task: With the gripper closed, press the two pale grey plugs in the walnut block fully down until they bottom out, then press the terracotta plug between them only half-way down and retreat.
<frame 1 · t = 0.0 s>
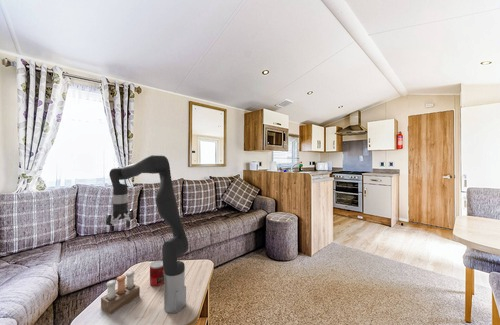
hand: (120, 229, 119), 29 cm above the table, fingers open, 8 cm apart
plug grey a: (111, 291, 96), point 8 cm above the table, slide at 0.0 cm
walnut block: (121, 302, 101), on the table
plug terracotta: (121, 286, 100), point 8 cm above the table, slide at 0.0 cm
canned food: (157, 283, 116), on the table
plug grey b: (130, 281, 104), point 8 cm above the table, slide at 0.0 cm
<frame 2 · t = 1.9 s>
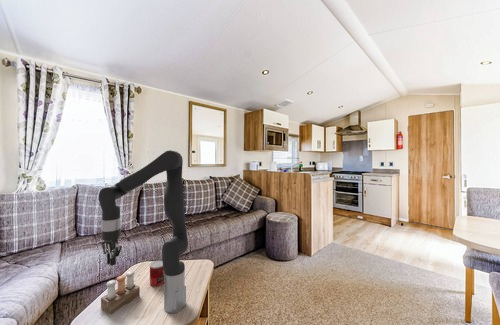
hand: (111, 264, 96), 21 cm above the table, fingers closed
nothing on the table moved.
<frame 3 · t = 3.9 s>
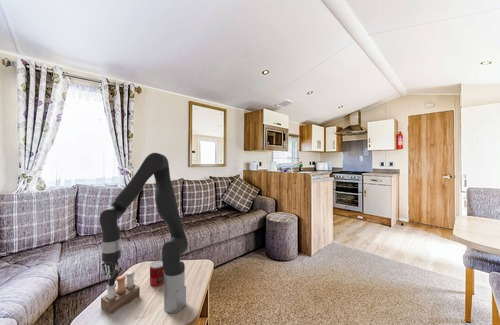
hand: (111, 284, 97), 11 cm above the table, fingers closed
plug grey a: (111, 294, 97), point 7 cm above the table, slide at 1.3 cm, touching gripper
everything else where it was.
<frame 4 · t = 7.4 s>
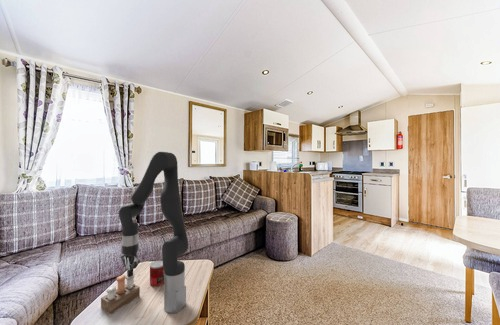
hand: (130, 275, 104), 11 cm above the table, fingers closed
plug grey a: (111, 297, 97), point 5 cm above the table, slide at 3.0 cm
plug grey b: (130, 284, 104), point 6 cm above the table, slide at 1.5 cm, touching gripper
everything else where it was.
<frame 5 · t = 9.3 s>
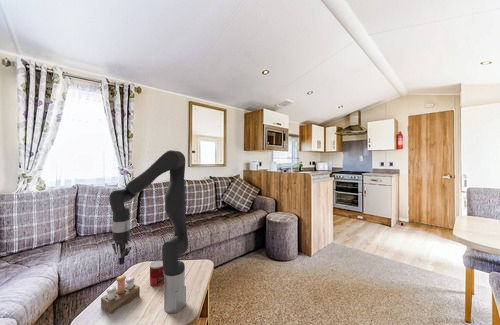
hand: (121, 263, 100), 19 cm above the table, fingers closed
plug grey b: (130, 287, 104), point 5 cm above the table, slide at 3.0 cm
everything else where it was.
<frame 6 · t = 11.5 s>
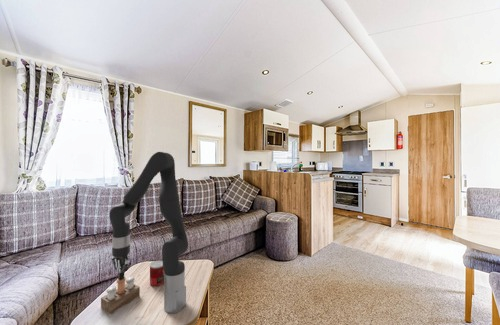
hand: (121, 278, 100), 12 cm above the table, fingers closed
plug terracotta: (121, 287, 100), point 7 cm above the table, slide at 0.8 cm, touching gripper
everything else where it was.
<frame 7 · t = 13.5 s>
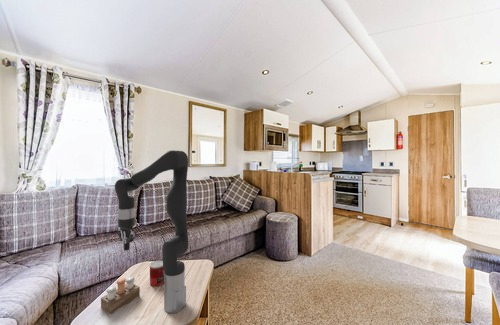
hand: (126, 249, 105), 24 cm above the table, fingers closed
plug terracotta: (121, 289, 100), point 6 cm above the table, slide at 1.4 cm
everything else where it was.
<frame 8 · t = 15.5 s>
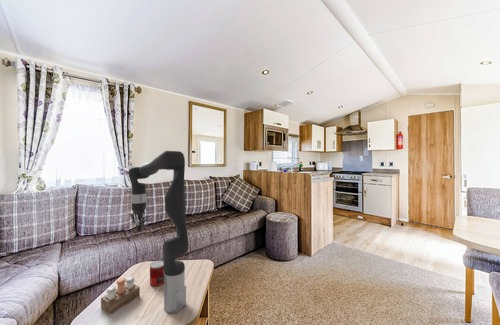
hand: (138, 231, 117), 29 cm above the table, fingers closed
nothing on the table moved.
at the end: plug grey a slide at 3.0 cm; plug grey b slide at 3.0 cm; plug terracotta slide at 1.4 cm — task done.
